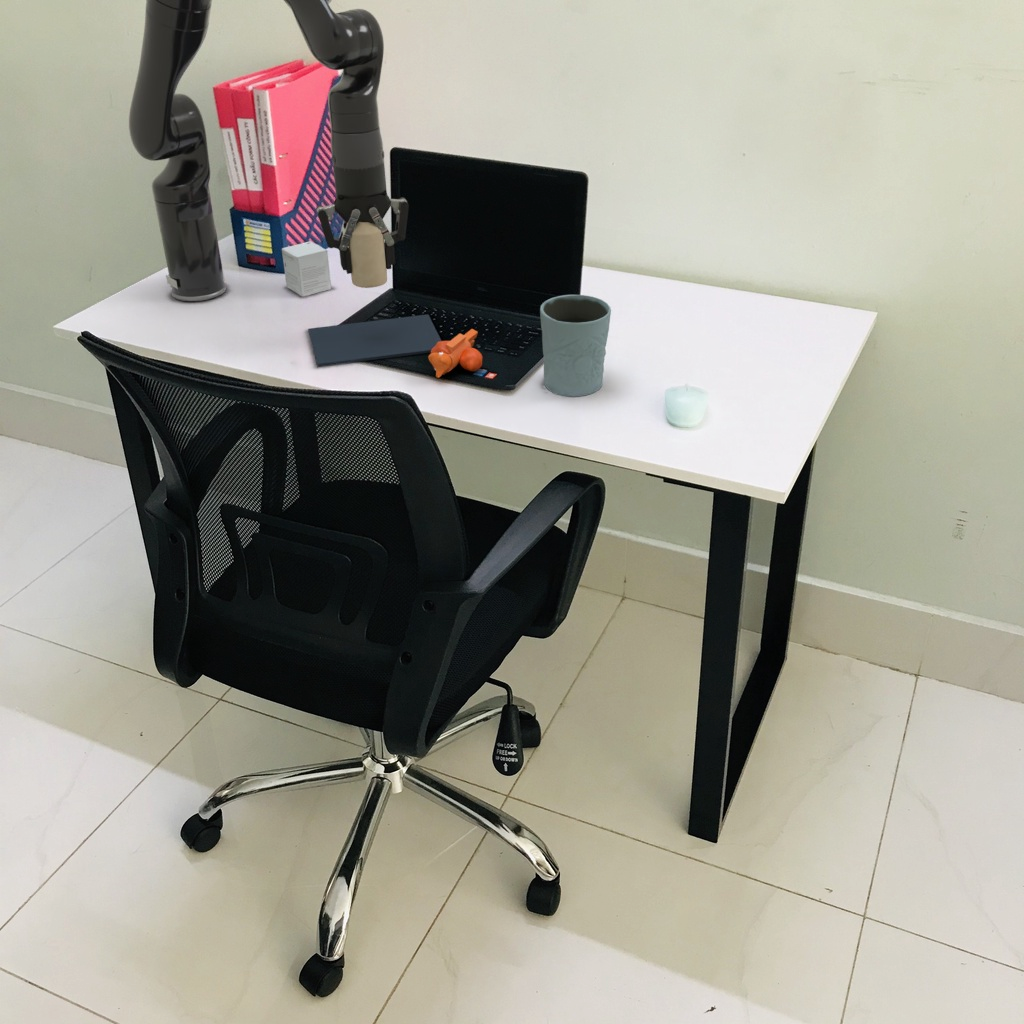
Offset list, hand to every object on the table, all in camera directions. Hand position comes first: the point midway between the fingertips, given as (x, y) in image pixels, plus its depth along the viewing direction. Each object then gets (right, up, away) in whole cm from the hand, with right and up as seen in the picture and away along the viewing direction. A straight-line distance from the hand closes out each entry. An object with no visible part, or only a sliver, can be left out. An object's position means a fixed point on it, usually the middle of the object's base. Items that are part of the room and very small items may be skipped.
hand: (368, 269), depth 173 cm
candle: (0, -2, +1) cm, 2 cm away
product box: (-14, +2, +26) cm, 30 cm away
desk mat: (0, -10, +6) cm, 12 cm away
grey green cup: (+31, -19, -8) cm, 38 cm away
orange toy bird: (+14, -16, -3) cm, 22 cm away
